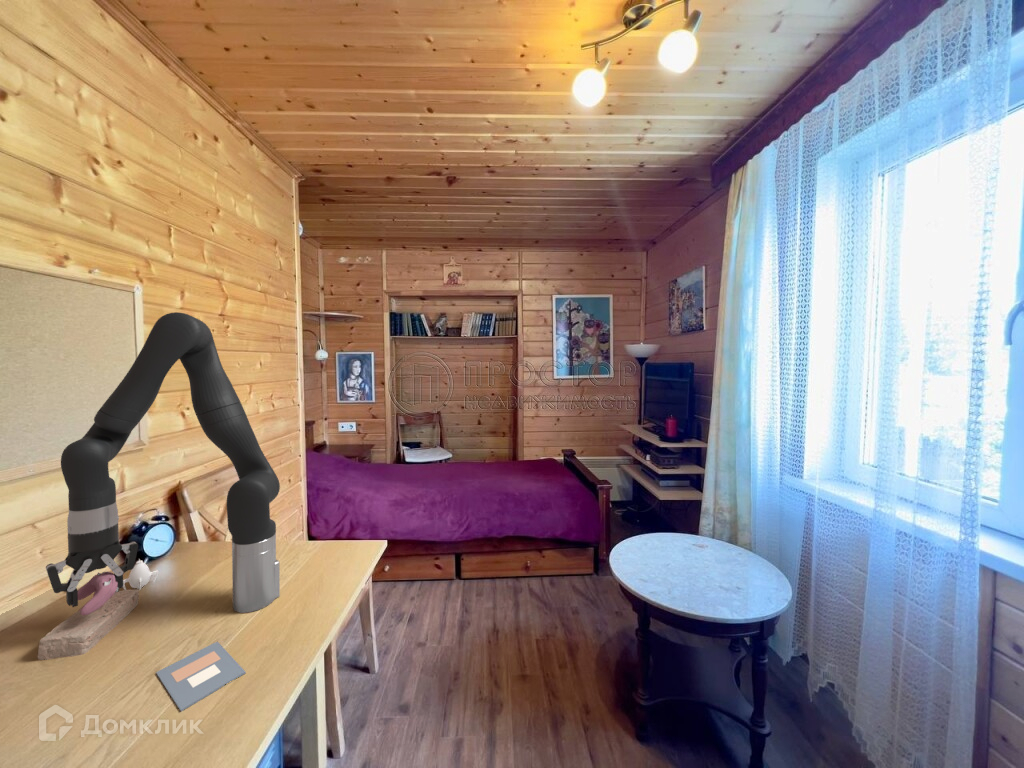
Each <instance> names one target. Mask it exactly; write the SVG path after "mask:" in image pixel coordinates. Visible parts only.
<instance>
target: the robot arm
mask: <svg viewBox="0 0 1024 768" xmlns="http://www.w3.org/2000/svg"><path fill="white" fill-rule="evenodd" d="M215 343H216V342H215V340H214V336H213V333H212V331H211V329H210V327H209V326H208V325H207V324H206V323H205V322H204V321H203V320H201V319H199V318H196V317H194V316H193V315H190V314H188V313H185V312H177V311H175V312H168V313H165V314H164V315H162V316H161V317H159V318H158V319H157V320H156V322H155V323H154V325H153V327H152V328H151V329H150V332H149V334H148V336H147V338H146V340H145V341H144V344H143V346H142V347H141V350H140V352H139V353H138V355H137V356H136V358H135V360H134V362H133V364H132V365H131V367H130V368H129V370H128V371H127V373H126V374H125V376H124V377H123V379H121V381H120V382H119V384H118V385H117V386H116V388H115V389H114V390H113V392H111V394H110V395H109V396H108V398H107V399H106V400H105V402H104V403H102V406H100V408H99V410H98V411H97V412H96V413H95V416H94V417H93V421H94V422H93V423H92V425H91V426H90V428H89V429H88V430H87V431H86V433H85V434H84V435H83V436H82V437H81V438H80V439H78V440H75V441H73V442H71V443H70V444H68V445H67V446H65V448H64V449H63V451H62V453H61V455H60V456H61V457H60V466H61V467H60V468H61V469H60V470H61V473H62V476H63V479H64V483H65V484H66V487H67V489H68V496H67V497H68V514H67V520H66V521H67V522H66V523H67V524H66V525H67V528H66V529H67V544H68V545H67V546H68V547H67V550H68V552H67V555H66V557H65V559H64V560H61V561H59V562H56V563H49V564H47V565H46V566H45V570H46V573H47V577H48V579H49V582H50V584H51V588H52V590H53V593H55V594H60V593H62V592H65V594H66V596H65V597H66V603H67V605H68V606H69V607H70V606H72V608H75V607H77V606H79V600H78V590H79V589H78V588H77V587H78V585H79V583H80V582H81V581H82V580H83V577H84V576H85V574H88V573H89V574H90V573H92V572H94V571H97V570H102V569H105V568H107V567H108V568H109V569H110V570H111V571H112V573H113V574H114V576H115V582H118V585H117V587H118V591H117V592H119V591H120V589H122V588H123V580H124V574H125V573H127V572H128V571H131V570H132V569H133V568H134V566H135V565H136V559H137V554H138V549H139V544H138V543H137V542H136V541H135V540H134V541H133V540H132V541H129V543H123V544H121V543H120V539H119V536H120V535H119V534H120V533H119V520H120V519H119V518H120V516H119V510H118V505H117V488H116V481H115V480H114V479H113V478H112V477H110V470H109V462H111V461H112V460H113V459H114V458H116V456H117V455H118V454H119V453H120V452H121V450H122V448H123V447H124V445H125V444H126V442H127V441H128V439H129V437H130V435H131V433H132V431H133V430H134V429H135V428H136V427H137V425H138V424H139V423H140V422H141V420H142V419H143V418H144V416H145V415H146V414H147V413H148V411H149V410H150V409H151V407H152V406H153V404H154V402H155V400H156V398H157V397H158V394H159V392H160V390H161V387H162V385H163V382H164V380H165V378H166V376H167V374H168V373H169V372H170V370H171V369H172V367H173V366H174V365H175V364H176V362H177V361H180V362H181V364H182V366H183V368H184V370H185V372H186V375H187V377H188V380H189V386H190V387H189V388H190V398H191V403H192V408H193V410H194V413H195V416H196V418H197V422H198V423H199V425H200V426H201V429H202V431H203V433H204V435H206V437H207V438H208V439H209V440H210V441H211V442H212V443H213V444H214V445H215V446H216V448H218V449H219V450H221V452H223V453H224V454H225V455H226V457H227V458H228V459H229V460H230V461H231V463H232V465H233V467H234V469H235V472H236V474H237V477H238V480H237V481H236V482H234V483H233V484H232V485H231V486H230V487H229V490H228V492H227V495H226V516H227V517H226V518H227V527H228V528H227V529H228V532H229V533H230V535H231V550H232V551H231V561H232V562H231V563H232V564H231V566H232V568H231V570H232V609H233V611H234V612H237V613H250V612H251V613H252V612H255V611H258V610H261V609H263V608H266V607H267V606H269V605H270V604H272V603H273V602H274V600H275V599H277V598H279V597H280V595H281V593H280V591H281V589H280V587H281V586H280V579H281V577H280V573H281V572H280V564H281V563H280V561H279V560H278V559H277V540H276V539H277V535H276V534H277V524H276V521H275V520H273V519H272V518H271V512H270V509H271V508H270V504H271V503H272V502H273V501H274V500H275V499H276V498H277V497H278V495H279V492H280V488H281V487H280V486H281V485H280V484H281V483H280V481H279V478H278V476H277V475H276V473H275V472H276V471H274V469H273V467H272V465H271V464H270V462H269V461H268V459H267V457H266V456H265V453H264V452H263V451H262V448H261V446H260V444H259V442H258V439H257V436H256V435H255V433H254V430H253V428H252V426H251V423H250V421H249V418H248V416H247V413H246V411H245V409H244V406H243V404H242V403H241V399H240V397H239V396H238V394H237V392H236V390H235V388H234V386H233V384H232V382H231V380H230V379H229V377H228V374H227V373H226V372H225V369H224V368H223V365H222V362H221V359H220V356H219V353H218V350H217V347H216V344H215ZM121 551H123V552H124V554H126V555H125V559H124V564H122V565H119V564H117V562H116V561H115V558H116V557H118V555H119V554H120V552H121ZM66 566H67V567H69V568H71V569H72V572H71V573H70V577H69V578H68V580H67V582H66V583H64V582H63V583H62V581H61V578H60V575H59V574H61V573H63V571H64V568H65V567H66Z"/></svg>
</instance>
